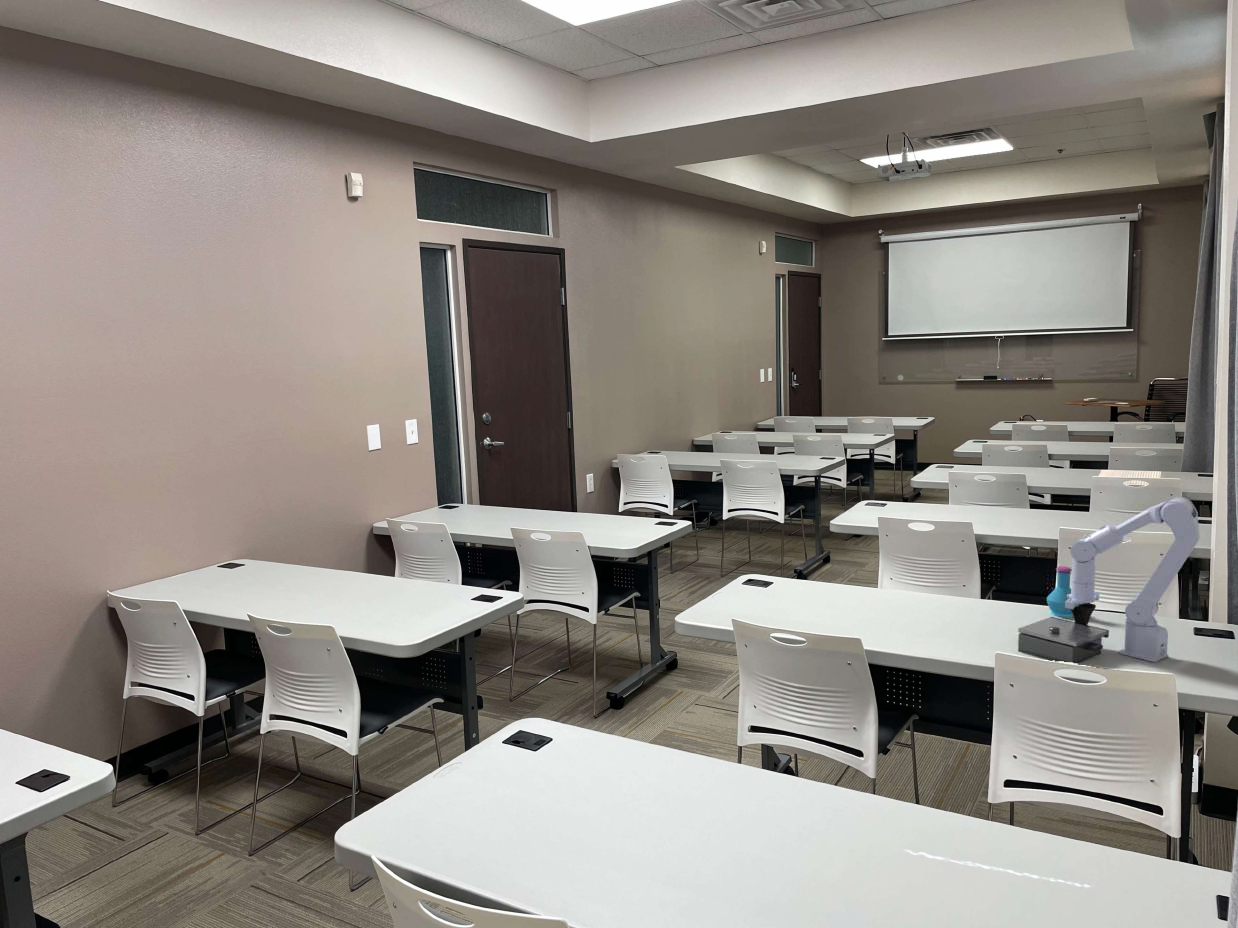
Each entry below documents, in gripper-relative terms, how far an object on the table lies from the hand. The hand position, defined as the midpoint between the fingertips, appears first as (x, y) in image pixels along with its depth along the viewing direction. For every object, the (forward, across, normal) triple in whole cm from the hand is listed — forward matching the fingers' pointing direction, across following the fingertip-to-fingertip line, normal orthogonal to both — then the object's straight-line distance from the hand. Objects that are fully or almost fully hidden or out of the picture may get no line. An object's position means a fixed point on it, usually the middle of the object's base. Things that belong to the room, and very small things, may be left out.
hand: (1081, 628), depth 242 cm
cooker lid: (0, +10, 0) cm, 10 cm away
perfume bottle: (+5, -24, -18) cm, 30 cm away
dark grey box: (+4, +11, 0) cm, 12 cm away
